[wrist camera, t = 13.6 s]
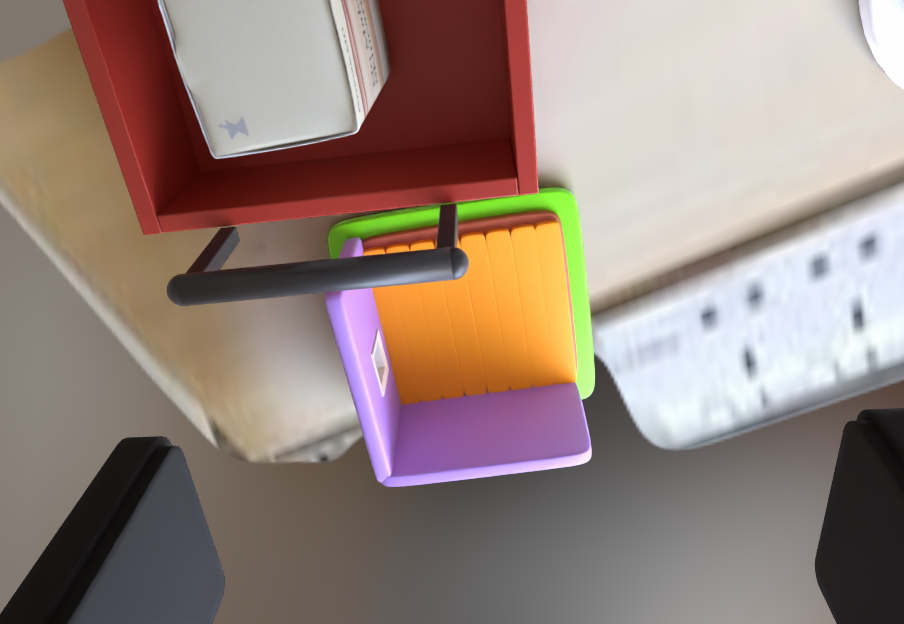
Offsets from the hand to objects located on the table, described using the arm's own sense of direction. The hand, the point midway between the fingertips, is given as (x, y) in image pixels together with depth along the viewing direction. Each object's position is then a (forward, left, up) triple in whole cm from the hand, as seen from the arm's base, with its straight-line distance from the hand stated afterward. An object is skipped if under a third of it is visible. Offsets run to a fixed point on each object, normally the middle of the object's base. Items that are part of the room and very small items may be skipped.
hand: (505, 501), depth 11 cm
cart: (+5, -5, -24) cm, 25 cm away
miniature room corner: (+2, +10, -25) cm, 27 cm away
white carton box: (+5, -5, -22) cm, 23 cm away
